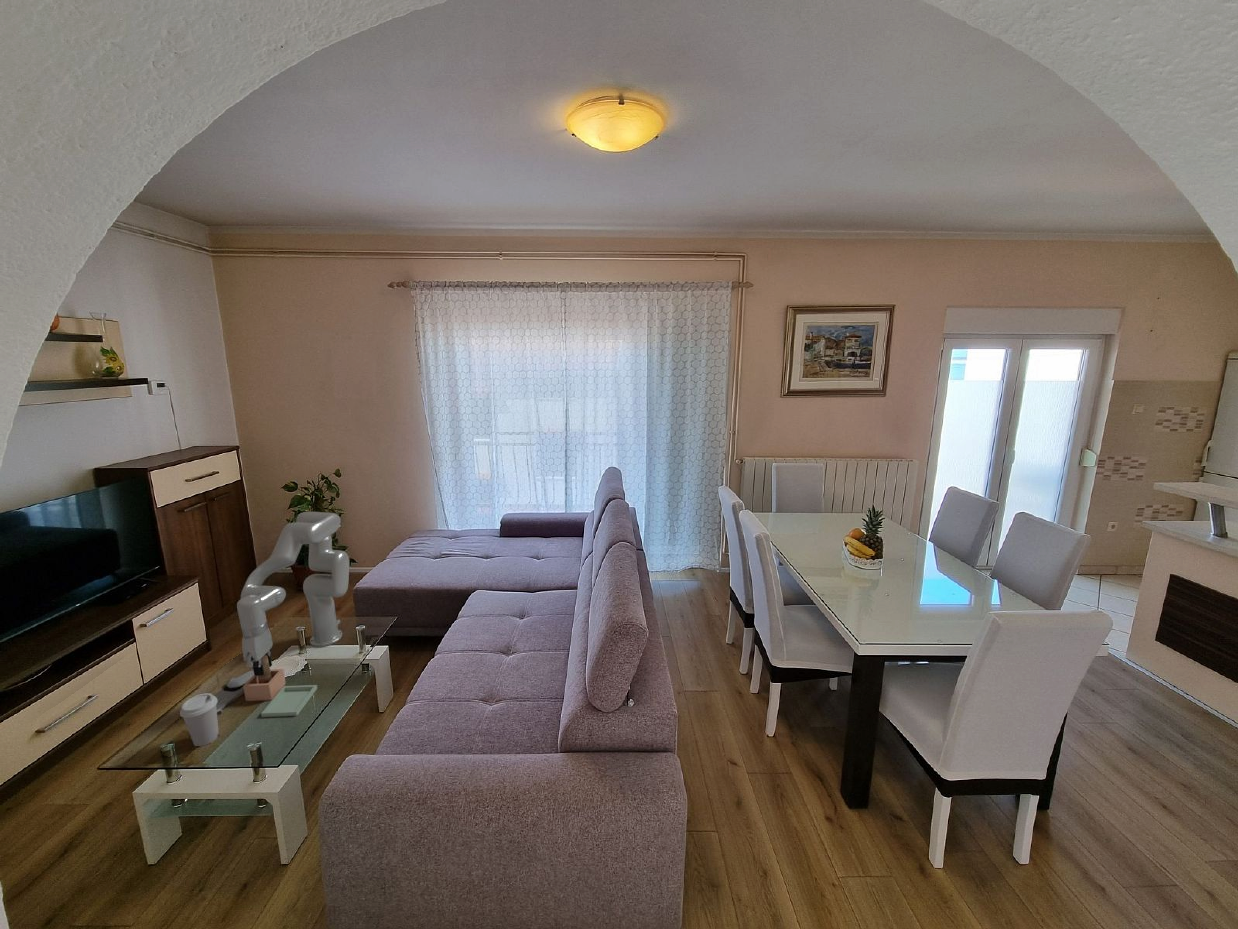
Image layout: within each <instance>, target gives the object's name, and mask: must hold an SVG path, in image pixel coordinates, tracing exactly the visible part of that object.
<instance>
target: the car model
mask: <svg viewBox="0 0 1238 929" xmlns="http://www.w3.org/2000/svg"><path fill="white" fill-rule="evenodd" d="M253 675H254V671H253V669H252V670H250V671H247V672H244V673H243V674H241V675H239V676H237V677H236V678H234V677H232V678H229V679H228V680H227V682H226V683H225V686H224V687H223V688H222V689H221V690H220V691H218V693H216V694H215V695H214V696H215V697H216V698H217V700H218V702H217V704H216V708H217V714H219V715H221V714H223V713H224V712H223V709H224V708H226V707H227V706H229V705H230V704H232V703H233V702H235V700H237V699H238V698H239V697H240V696H241V697H242V695H243V694H245V693H244V688H243V686H244V685H245V684H246V682H247V681H248V680H249V679H250V678H251V677H252V676H253Z"/></svg>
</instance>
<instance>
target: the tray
mask: <svg viewBox="0 0 1238 929" xmlns="http://www.w3.org/2000/svg"><path fill="white" fill-rule="evenodd" d="M317 690H318V685H317V684H309V685H308V684H307V685H306V684H305V685H284V686H283V687H282V688H281V690H280V691H279V692H278V693H277V694H276V696H275V697H274V698H273V699H272V700H270V702H269V703H268V704H267V706H266V707H264V708H263V710H262V711H261V712H260V716H261V718H270V717H272V718H273V717H277V718H278V717H295V716H296V717H297V716H298V715H299V714H300V713H301V711H302V710H303V708H304V707H305V706H306V705H307V703H308V702H309V701H310V699H311V697H312V696H313V695H314V694H315V692H316V691H317Z"/></svg>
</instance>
